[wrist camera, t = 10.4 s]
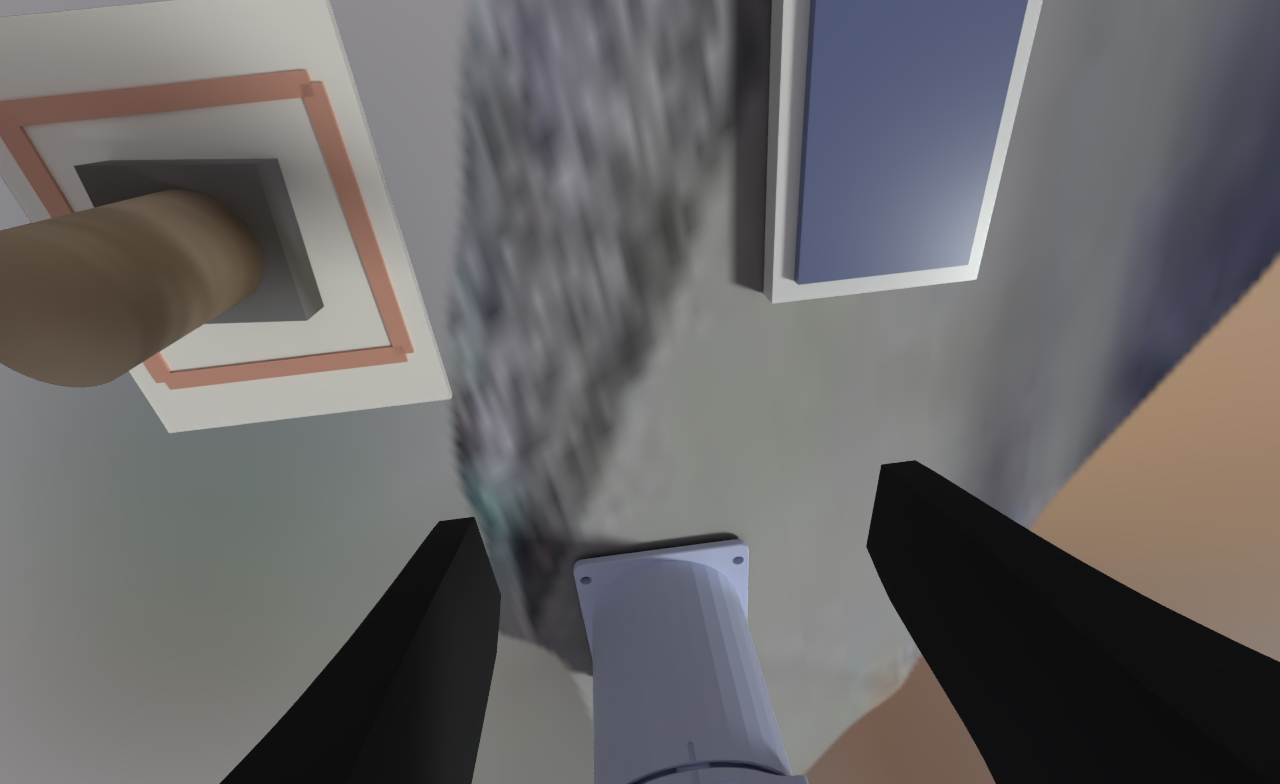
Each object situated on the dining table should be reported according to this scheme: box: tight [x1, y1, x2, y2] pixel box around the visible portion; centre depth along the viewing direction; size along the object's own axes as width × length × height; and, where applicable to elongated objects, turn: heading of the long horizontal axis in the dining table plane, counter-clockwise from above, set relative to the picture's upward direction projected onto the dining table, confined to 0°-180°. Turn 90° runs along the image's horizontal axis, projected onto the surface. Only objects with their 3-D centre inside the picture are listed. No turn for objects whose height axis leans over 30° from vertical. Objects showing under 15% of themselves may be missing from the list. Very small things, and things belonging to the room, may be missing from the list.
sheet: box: [0, 0, 453, 433], centre depth 16 cm, size 12×10×1 cm
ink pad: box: [763, 0, 1043, 304], centre depth 16 cm, size 9×7×1 cm
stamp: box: [0, 158, 324, 387], centre depth 13 cm, size 4×4×6 cm
